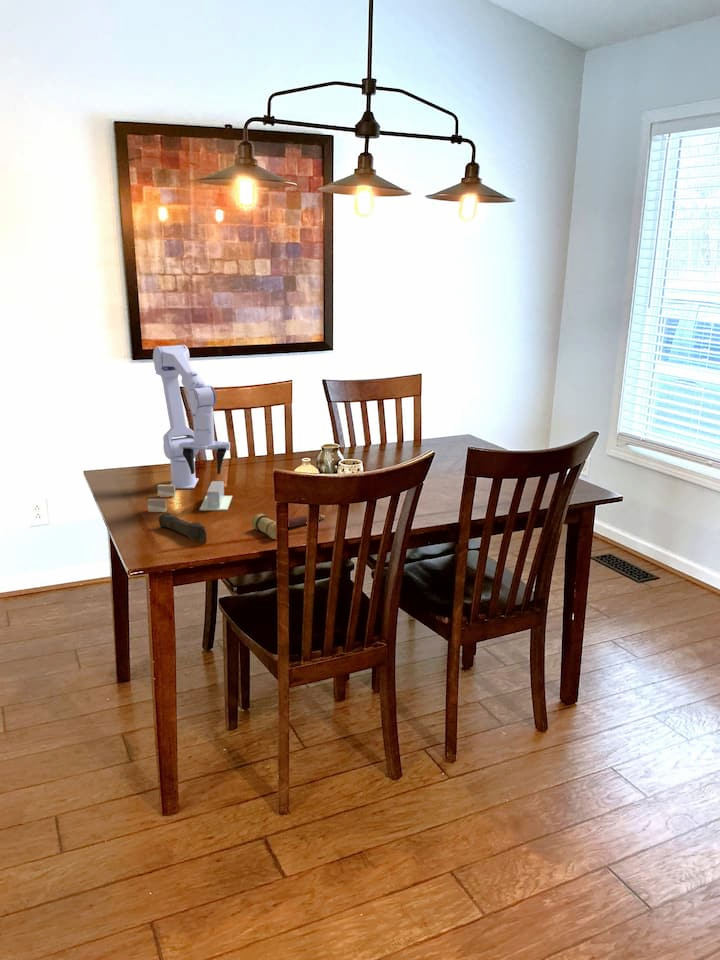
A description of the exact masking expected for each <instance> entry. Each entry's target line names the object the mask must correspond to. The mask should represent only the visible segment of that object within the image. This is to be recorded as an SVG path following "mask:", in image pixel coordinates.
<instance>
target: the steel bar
mask: <svg viewBox="0 0 720 960" xmlns="http://www.w3.org/2000/svg"><path fill="white" fill-rule="evenodd" d="M224 486H225V484H224V480H223V481H222V480H218V481H217V480H212V481H211V482H210V485H209V487H208V489H207V491H206V496H207V502H208V508H220V506H221V504H222V501H223V499H224V496H225V487H224Z"/></svg>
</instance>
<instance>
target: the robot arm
mask: <svg viewBox="0 0 720 960" xmlns="http://www.w3.org/2000/svg"><path fill="white" fill-rule="evenodd" d="M190 358H191V357H190V351H189V348H188V346H186V345H185V344H176V345H165V346H164V345H163V346H159V345H157V346H155V347H154V349H153V353H152V361H153V365H154V371H155V374H157V375H158V376H160V377H161V382H162V384H163V385H162V386H163V390H164V391H163V392H164V398H165V402H166V403H165V404H166V408H167V415H168V420H169V426H170V428H169V429H168V430H167V432H166V433H164V435H163V437H162V438H163V440H162V441H163V454H164V455H165V457H166V458H167V459H168V460H170V461H169V462H170V476H171V479H170V480H171V482H170V484H169V485H175V489H194V488H195V487H196V485H197V483H198V482H199V478H198V477H196V465H195V464H196V463H195V459H196V456H197V455H198V454H199V451H200V450H217V451H216V462H217V463H216V465H217V466H216V469H217V471H216V473H217V475H221V473H222V465H223V461H224V458H225V455H226V453H227V451H230V450H231V442H230V441H218V440H215V424H214V406H216V403H217V394H216V391H215V389H214V387H213V386H212V385H209V384H206V383H205V381H204V379H203V378H202V375H200V373H199V372H197V371H194V370H193V368H192V366H191V364H190ZM179 376H180V377H181V385H182V386H183V388H184V389H185V391H186V393H187V394H188V402H189V404H190V412H191V413H192V419H193V421H192V422H193V430H192V429H191V428H190V427H188V426H187V423H186V419H185V418H186V416H185V412H184V405H183V401H182V400H183V399H182V394H181V388H180V381H179Z"/></svg>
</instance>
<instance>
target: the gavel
mask: <svg viewBox="0 0 720 960" xmlns="http://www.w3.org/2000/svg"><path fill="white" fill-rule="evenodd" d="M319 515H320V521H322V520H323V519H325V518H326V515H322V514H319ZM288 519H289V528H288V529H290V528H295V527H300V526H305V525H307V524H306V522H307V514H306V515H302V516H301V515H300V516H296V517H290V518H288ZM304 524H305V525H304ZM251 526H252V528H253V529H254V530H257V531H258V532H262V533H264V534H265V535H267V536H268V537H269V538H270V539H271V540H273V539H276V521H274V520H273V519H271V518H270V517H268V516H267V515H265V514H264V513H257V514H255V515H254V516H253V518H252V521H251ZM259 530H260V531H259ZM276 540H277V539H276Z"/></svg>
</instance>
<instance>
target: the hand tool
mask: <svg viewBox="0 0 720 960" xmlns="http://www.w3.org/2000/svg"><path fill="white" fill-rule="evenodd" d="M157 520H158V524H159V526H160V527H163V528H168V529H170V530H173V531H175V532H178V533H179V534H182V535H184V536H186V537H188V538H189V540H190V539H191V540H190V541H193V542H196V541H197V543H202V544H206V543H207V531H206V528H205V526H204V525H202V524H200V523H199V522H188V521H186V520H184V519H181V518H179V517H177V516H174V515H172V514H171V513H170V512H162V513H161V514H160V516H158V518H157Z"/></svg>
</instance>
